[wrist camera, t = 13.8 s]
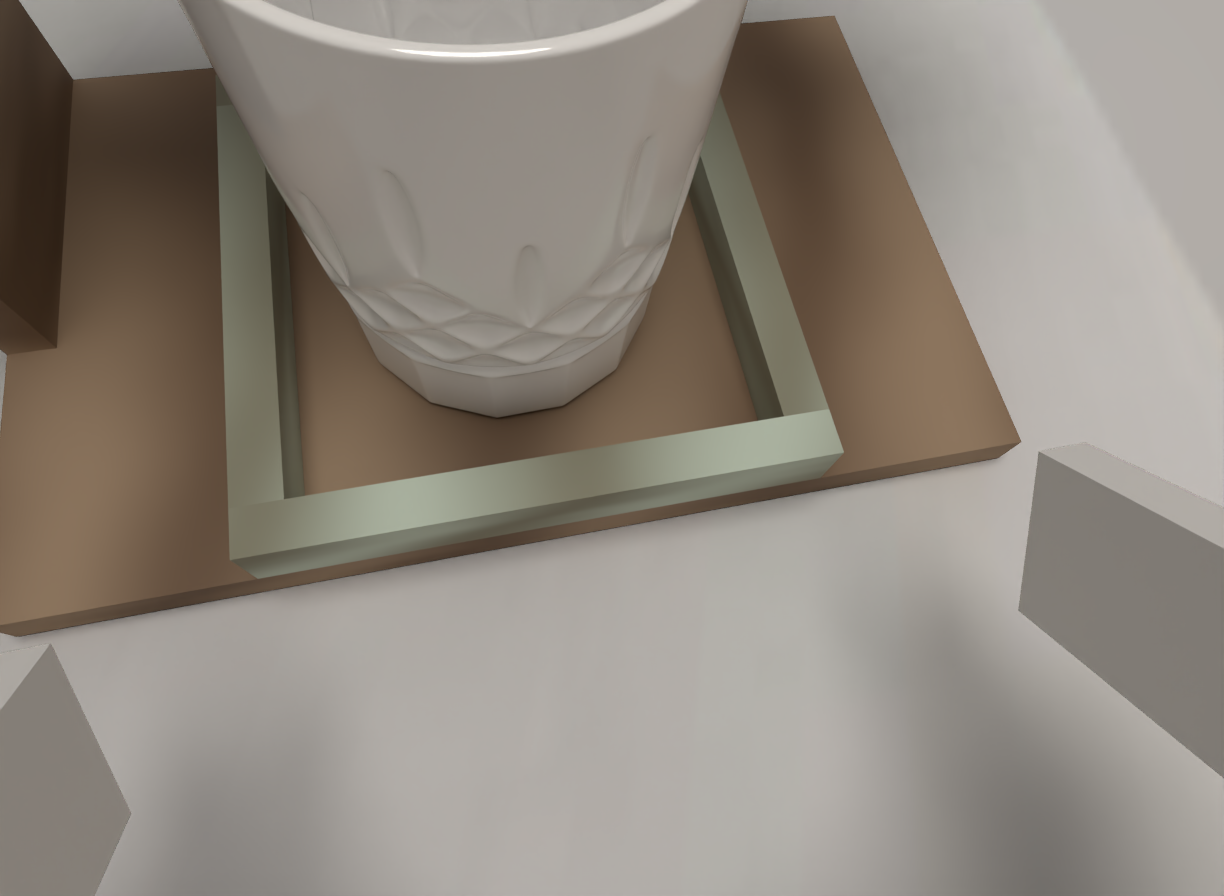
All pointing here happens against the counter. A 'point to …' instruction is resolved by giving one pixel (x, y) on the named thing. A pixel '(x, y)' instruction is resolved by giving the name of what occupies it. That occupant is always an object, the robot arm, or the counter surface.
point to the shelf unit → (389, 408)
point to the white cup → (481, 169)
